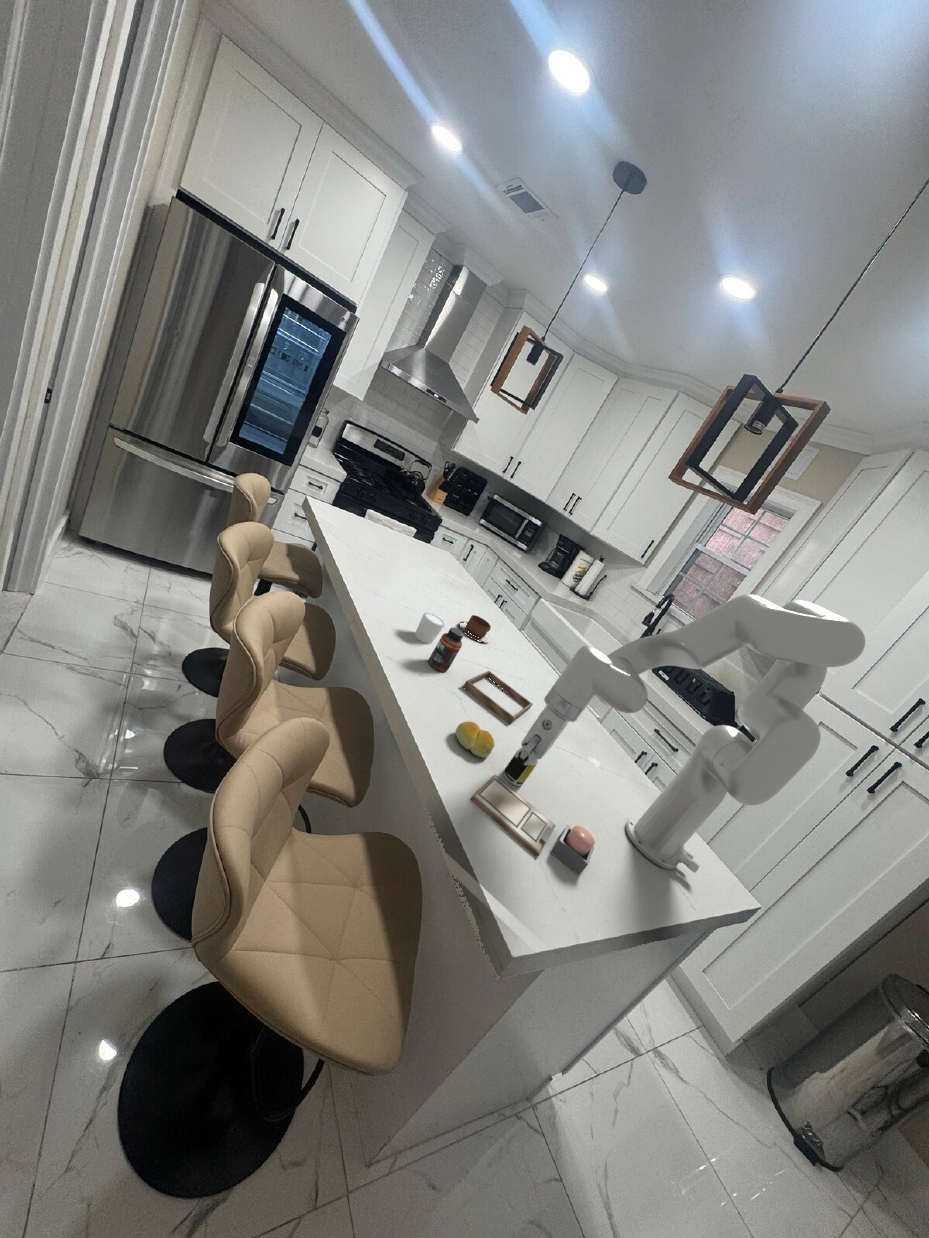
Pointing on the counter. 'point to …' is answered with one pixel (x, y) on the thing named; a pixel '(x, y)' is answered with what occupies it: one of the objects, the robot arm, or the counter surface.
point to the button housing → (570, 853)
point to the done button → (580, 840)
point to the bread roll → (475, 739)
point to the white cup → (429, 628)
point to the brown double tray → (514, 814)
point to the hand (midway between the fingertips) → (518, 766)
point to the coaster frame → (492, 704)
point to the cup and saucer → (477, 627)
